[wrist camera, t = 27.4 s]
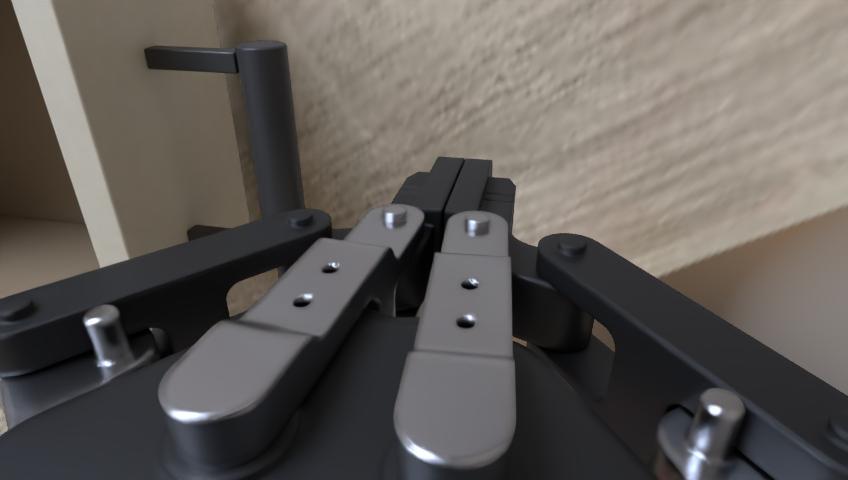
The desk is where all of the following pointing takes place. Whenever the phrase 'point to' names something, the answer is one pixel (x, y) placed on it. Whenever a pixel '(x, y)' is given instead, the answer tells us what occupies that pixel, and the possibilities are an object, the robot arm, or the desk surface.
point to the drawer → (130, 133)
